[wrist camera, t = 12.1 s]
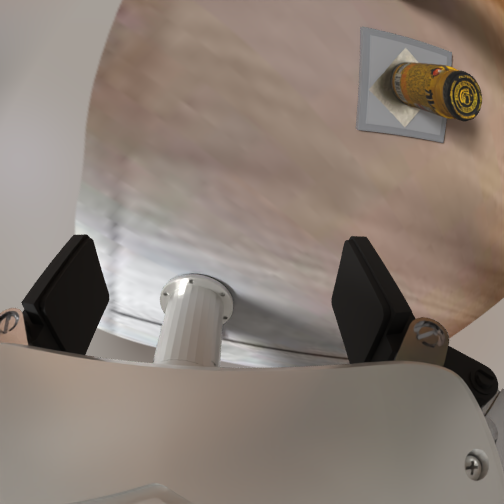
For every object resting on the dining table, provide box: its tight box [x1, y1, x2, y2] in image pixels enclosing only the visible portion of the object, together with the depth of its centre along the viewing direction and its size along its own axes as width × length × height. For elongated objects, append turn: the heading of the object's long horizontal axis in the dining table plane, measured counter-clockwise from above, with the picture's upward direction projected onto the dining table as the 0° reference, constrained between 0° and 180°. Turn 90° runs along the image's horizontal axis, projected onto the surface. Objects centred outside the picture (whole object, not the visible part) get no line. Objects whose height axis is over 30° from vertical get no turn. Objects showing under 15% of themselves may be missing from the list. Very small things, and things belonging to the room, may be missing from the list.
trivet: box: [356, 27, 452, 143], centre depth 30 cm, size 14×14×1 cm
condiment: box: [369, 48, 482, 127], centre depth 25 cm, size 7×8×12 cm
